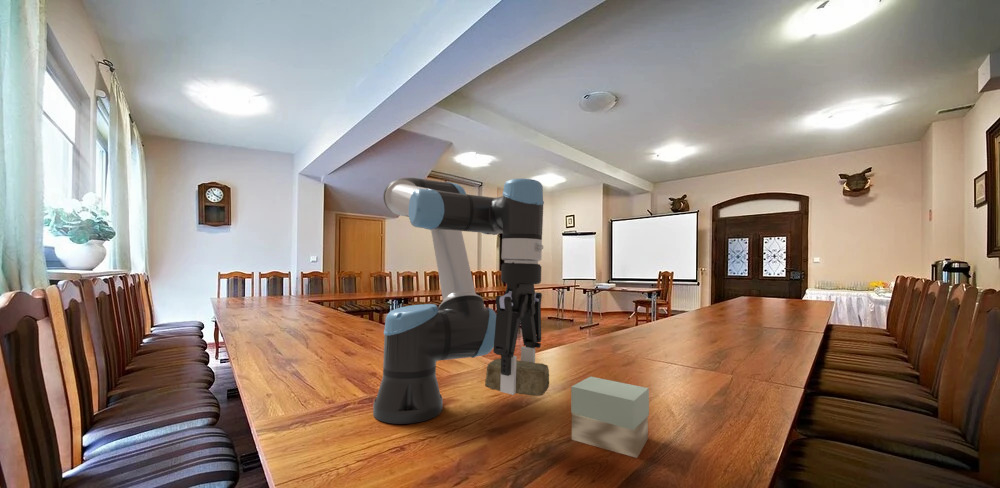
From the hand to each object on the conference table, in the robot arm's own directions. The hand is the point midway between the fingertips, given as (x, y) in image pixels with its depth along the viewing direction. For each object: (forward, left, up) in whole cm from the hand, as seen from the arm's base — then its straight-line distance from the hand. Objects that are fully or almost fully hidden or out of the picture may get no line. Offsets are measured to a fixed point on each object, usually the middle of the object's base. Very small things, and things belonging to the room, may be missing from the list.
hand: (518, 386), depth 68 cm
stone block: (0, 0, -1) cm, 1 cm away
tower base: (+13, +12, -11) cm, 21 cm away
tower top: (+13, +13, -6) cm, 19 cm away
